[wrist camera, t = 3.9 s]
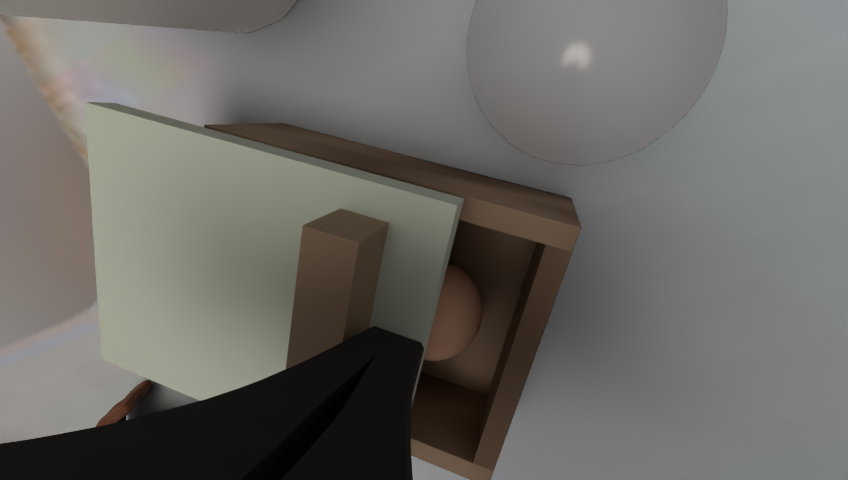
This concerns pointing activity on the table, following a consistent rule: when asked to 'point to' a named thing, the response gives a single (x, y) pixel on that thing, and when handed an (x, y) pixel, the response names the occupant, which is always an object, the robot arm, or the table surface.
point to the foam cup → (158, 12)
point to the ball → (454, 316)
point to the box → (494, 278)
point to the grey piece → (591, 71)
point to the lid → (249, 252)
